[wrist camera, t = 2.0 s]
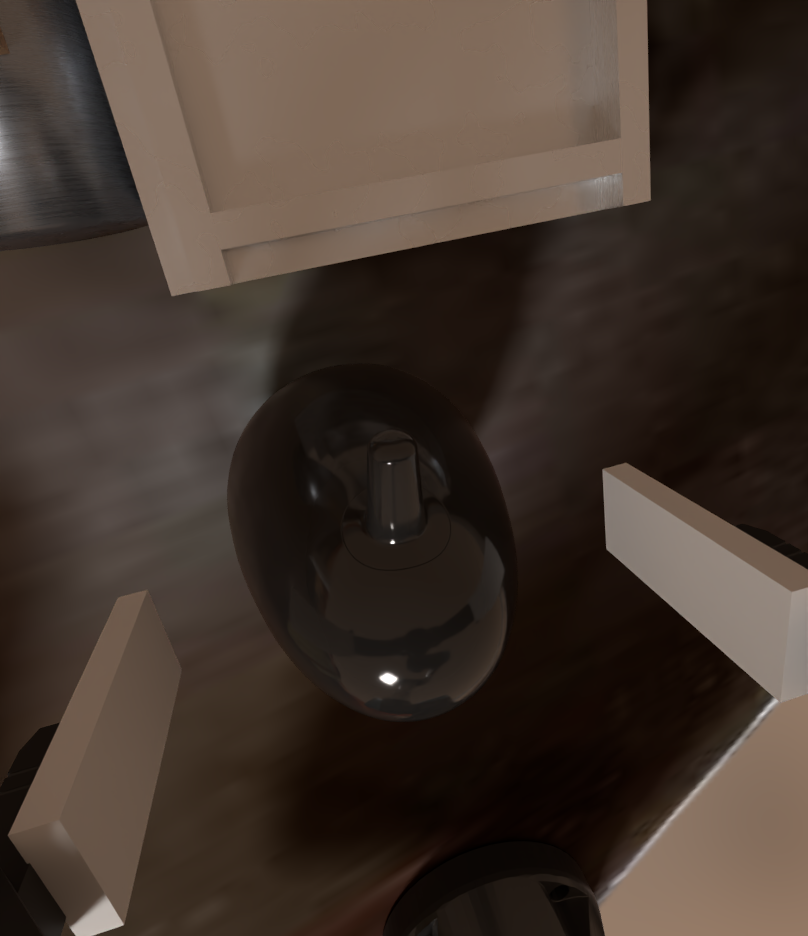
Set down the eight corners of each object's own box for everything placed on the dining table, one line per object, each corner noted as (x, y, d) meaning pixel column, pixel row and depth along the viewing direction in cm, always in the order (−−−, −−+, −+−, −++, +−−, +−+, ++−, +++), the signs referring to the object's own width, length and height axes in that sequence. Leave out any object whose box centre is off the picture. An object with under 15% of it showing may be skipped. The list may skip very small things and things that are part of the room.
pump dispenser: (442, 329, 25) (649, 407, 11) (459, 534, 29) (631, 783, 15) (210, 362, 24) (117, 502, 10) (259, 575, 27) (243, 896, 13)
